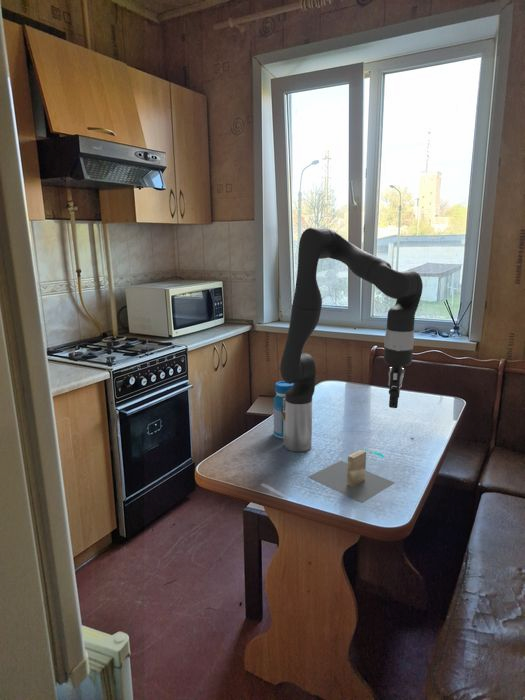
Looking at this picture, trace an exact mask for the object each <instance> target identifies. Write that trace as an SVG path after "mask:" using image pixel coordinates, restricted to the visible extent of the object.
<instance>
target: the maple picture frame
mask: <svg viewBox="0 0 525 700" xmlns="http://www.w3.org/2000/svg"><path fill="white" fill-rule="evenodd" d="M366 461H367V451H365V450H361V449H359V450H357V451H356V452H353V453H352V454H349V455H347V463H348V472H347V485H350V486H352V487H353V486H355V485H357V484H359V483H360V482H362V481H364V480H365V471H366V466H367V464H366V463H367V462H366Z"/></svg>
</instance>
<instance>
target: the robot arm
mask: <svg viewBox="0 0 525 700" xmlns="http://www.w3.org/2000/svg"><path fill="white" fill-rule="evenodd" d="M297 255H298V256H297V271H296V280H295V281H296V282H295V289H294V295H293V300H292V304H291V305H292V306H291V313H290V320H289V327H288V332H287V337H286V343H285V346H284V350H283V354H282V356H281V361H280V369H279V370H280V375H281V378H282V379H283V381H285V382H286V383H293V386H292V387H291V388H290V389H289V390H288V391H287V392H286V394H285V419H284V420H283V438H282V441H283V446H285V448H286V449H287V450H288V451H291V452H294V453H295V452H297V453H301V452H307V451H310V450H311V449H312V442H313V441H312V440H313V439H312V435H313V397H314V396H313V395H314V394H315V391H316V390H315V388H316V374H317V373H316V371H317V370H316V369H317V367H316V363H315V362H316V361H315V360H314V358H313V356H312V355H311V354H310V353H303V350H304V346H305V345H306V342H308V340H309V338H310V337H311V335H312V333H313V332H314V331H315V329H316V328H317V326H318V324H319V321H320V316H321V313H322V312H321V310H322V306H323V298H322V294H321V290H320V287H319V285H318V281H317V270H318V266H319V265H318V264H319V260H320V259H333V260H336V261H339V262H341V263H343V264H344V265H346V266H347V267H348V268H349V270H350V271H351V272H352V273H353V274H354V275H355V276H357V277H359V278H360V279H362V280H364V281H366V282H367V283H369V284H371V285H374V286H375V288H376V289H378V290H379V291H381V293H382V294H384V295H385V296H387V297H389V298H391V299H395V300H396V301H395V304H394V305H393V306H392V307H391V308H389V310H388V311H387V318H386V319H387V320H386V328H385V329H386V330H385V335H384V344H383V345H384V346H383V347H384V348H383V362H384V363H385V364H387V365H390V366H391V367H390V366H389V370H388V387H389V389H388V395H389V402H388V406H389V408H391V409H397V408H398V405H399V398H400V392H401V388H402V385H403V379H404V376H405V375H404V374H405V368H403V366H409V365H411V364H412V363H413V354H414V353H413V352H414V344H415V343H414V340H415V334H414V331H415V319H416V318H415V317H416V312H417V309H418V308H419V307H418V306H419V303H420V301H421V298H422V297H421V296H422V293H423V279H422V277H421V275H420V274H419V273H418V272H417V271H414V270H406V271H399V270H395V269H393V268H392V266H391V264H390V263H389V262H387V261H386V260H385V259H382V258H380V257H378V256H375V255H374V254H372V253H369V252H368V251H365V250H363V249H362V248H359V247H357V246H356V245H355V244H353V243H351V242H350V241H348V239H345V238H344V237H343V236H342V235H340V234H339V233H338V232H336V231H335V230H333V229H332V228H329V227H309V228H306V229H305V230H304V231H303V232H302V234H301V235H300V238H299V242H298V254H297Z"/></svg>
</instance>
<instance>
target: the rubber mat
mask: <svg viewBox="0 0 525 700" xmlns="http://www.w3.org/2000/svg"><path fill="white" fill-rule="evenodd" d="M347 472H348V462H346V461H344V460H338V461H337V462H335V463H333V464H331V465H329V466H326V467H325V468H323V469H320V470H319V471H317V472H314V473H313V474H311V475H308V476H307V478H309V479H310V480H313V481H316V482H318V483H320V484H321V485H324V486H326V487H328V488H330V489H332V490H334V491H337V492H339V493H340V494H343V495H345V496H347V497H349V498H350V499H353V500H356V501H358V502H359V503H361V504H362V503H366V501H368V500H369V499H371V498H373V497H374V496H376V495H377V494H379V493H381V492H382V491H384V490H385V489H387V488H389V487H391V486H392V485H393V484H395V482H394V481H392V480H389V479H387V478H385V477H382V476H379V475H378V474H376V473H375V474H374V473H373V472H370V471H367V470H365V480H364V481H362V482H360V483H359V484H357V485H355V486H353V487H352V486H350V485H347Z"/></svg>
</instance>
